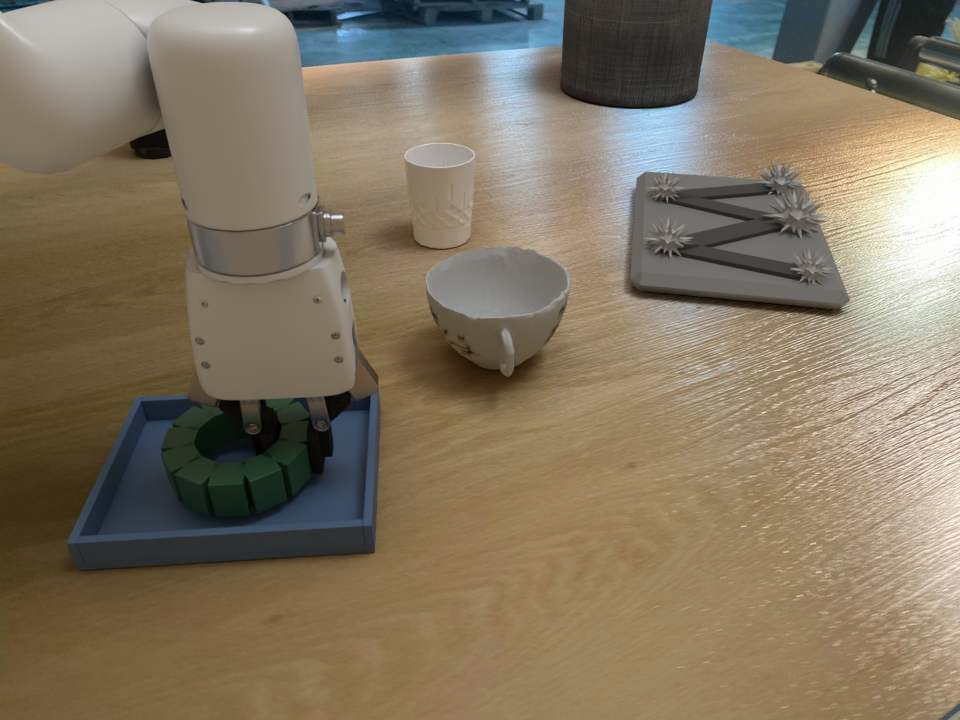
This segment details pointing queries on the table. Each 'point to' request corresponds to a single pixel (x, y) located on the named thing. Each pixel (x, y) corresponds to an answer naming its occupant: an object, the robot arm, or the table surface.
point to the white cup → (440, 193)
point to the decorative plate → (733, 240)
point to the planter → (633, 50)
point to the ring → (235, 482)
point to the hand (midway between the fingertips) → (297, 461)
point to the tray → (200, 538)
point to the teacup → (497, 303)
